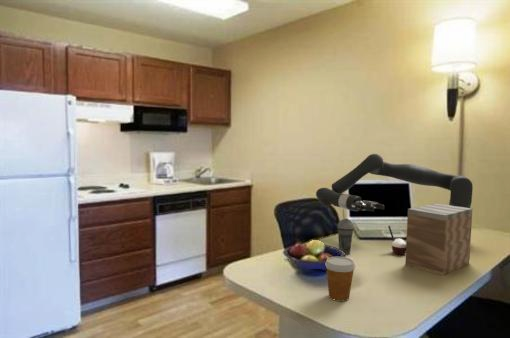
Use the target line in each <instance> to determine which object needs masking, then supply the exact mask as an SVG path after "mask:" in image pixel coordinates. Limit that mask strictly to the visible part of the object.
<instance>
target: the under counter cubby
mask: <svg viewBox="0 0 510 338" xmlns="http://www.w3.org/2000/svg"><path fill="white" fill-rule="evenodd" d="M472 222H473V208H471V207H470V208H465V207H458V206H451V205H449V204H444V203H437V202H436V203H431V204H427V205H421V206H417V207H412V208H407V220H406V225H407V226H406V240H405V242H406V253H405V265H406V266H408V267H412V268H416V269H418V270H422V271H426V272H428V273H432V274H436V275H440V276H445V275H447V274H449V273H452V272H454V271H456V270H458V269H460V268H462V267H465V266H467V265H469V264H470V258H471V257H470V256H471V255H470V254H471V242H472V241H471V240H472V239H471V238H472Z"/></svg>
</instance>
